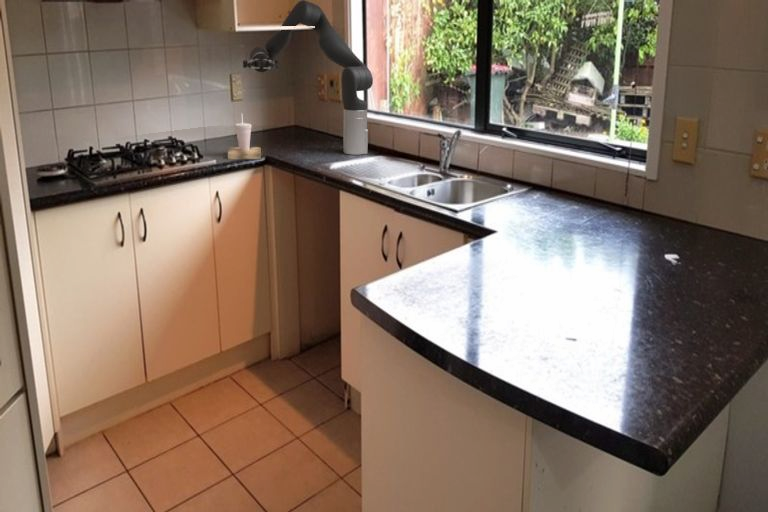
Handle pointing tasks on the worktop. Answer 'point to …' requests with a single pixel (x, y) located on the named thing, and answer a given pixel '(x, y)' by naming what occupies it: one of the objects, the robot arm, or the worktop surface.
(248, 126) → the smoothie
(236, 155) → the board
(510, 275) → the worktop surface
